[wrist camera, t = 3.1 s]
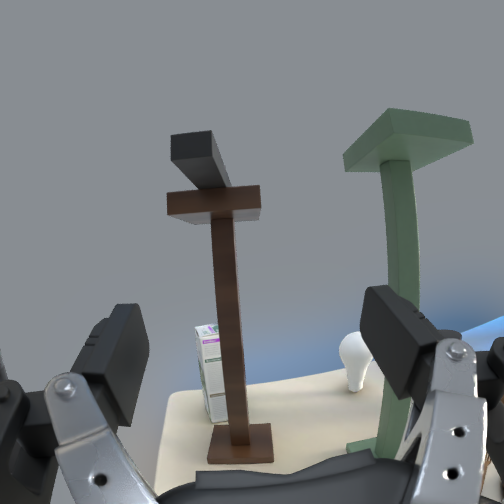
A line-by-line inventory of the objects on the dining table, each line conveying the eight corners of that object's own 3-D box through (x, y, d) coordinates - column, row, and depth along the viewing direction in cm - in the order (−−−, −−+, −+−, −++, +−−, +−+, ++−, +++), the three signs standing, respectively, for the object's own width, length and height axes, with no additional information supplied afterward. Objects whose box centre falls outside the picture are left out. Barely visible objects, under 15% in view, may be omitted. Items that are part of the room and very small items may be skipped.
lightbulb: (354, 403, 42) (357, 341, 41) (330, 391, 47) (331, 333, 47) (379, 390, 44) (383, 331, 44) (355, 380, 50) (357, 325, 49)
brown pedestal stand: (275, 483, 26) (259, 184, 25) (203, 484, 26) (166, 192, 25) (270, 428, 37) (257, 204, 37) (214, 430, 38) (193, 208, 37)
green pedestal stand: (442, 487, 18) (469, 120, 18) (374, 512, 18) (388, 107, 18) (402, 435, 30) (406, 156, 30) (345, 448, 30) (342, 154, 30)
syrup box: (247, 417, 41) (240, 330, 41) (210, 424, 39) (198, 335, 39) (237, 401, 46) (230, 321, 46) (203, 407, 45) (193, 325, 44)
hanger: (212, 156, 16) (210, 80, 16) (170, 160, 16) (171, 86, 16) (235, 206, 38) (233, 168, 38) (216, 208, 38) (214, 170, 38)
